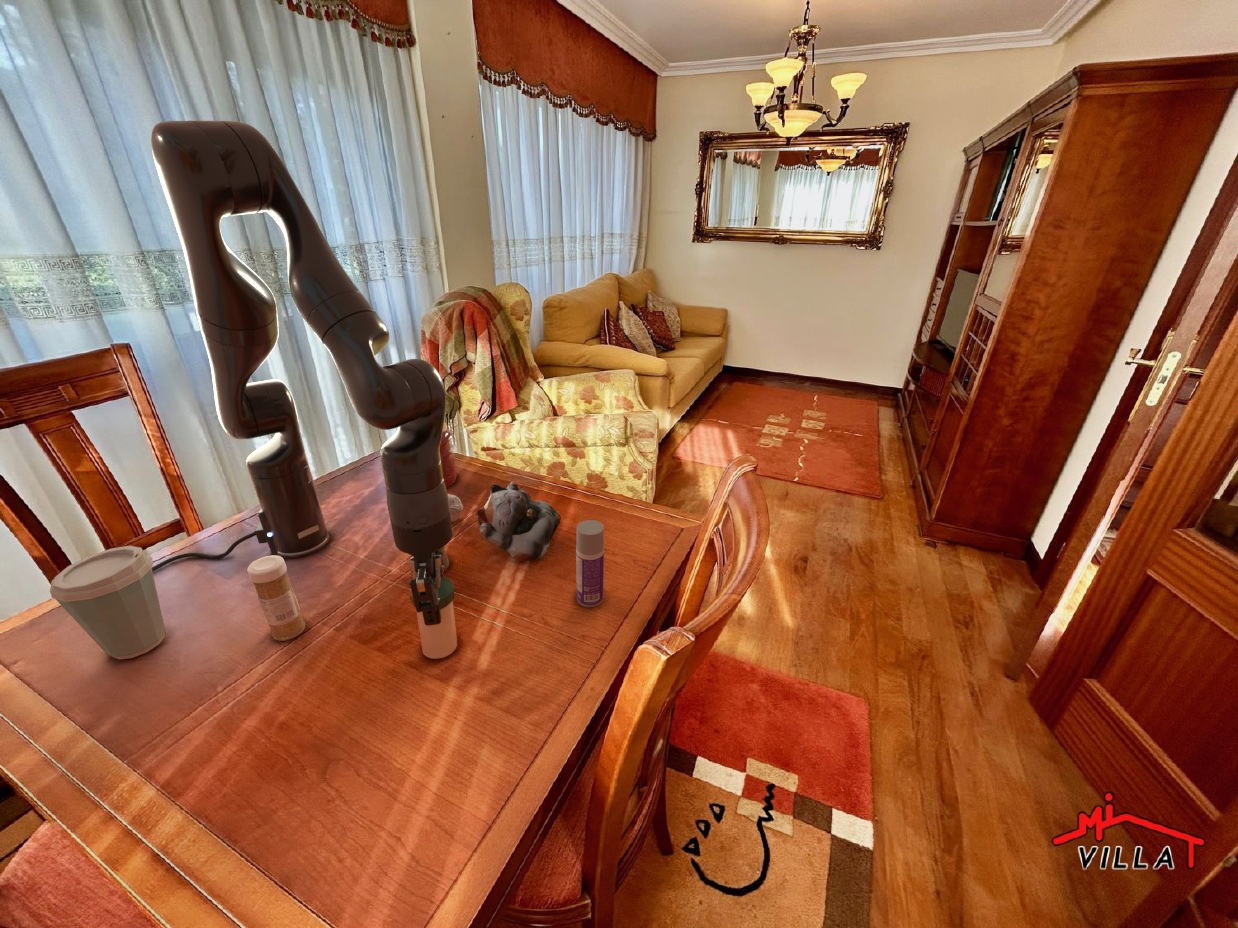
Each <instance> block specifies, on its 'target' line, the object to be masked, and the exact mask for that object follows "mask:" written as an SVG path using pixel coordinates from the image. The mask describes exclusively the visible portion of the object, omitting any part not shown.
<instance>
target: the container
mask: <svg viewBox="0 0 1238 928" xmlns="http://www.w3.org/2000/svg"><path fill="white" fill-rule="evenodd" d="M575 542H576V543H575V544H576V545H575V567H576V568H575V570H576V571H575V573H576V574H575V575H576V577H575V578H576V579H575V581H576V602H577V603H578V604H579V605H580V606H582V607H583V608H584V607H585V608H595V607H598V606H599V605H601V604H602V602H603V600H604V575H605V526H604V524H603V523H602V522H601V521H599V520H594V519H587V520H582V521H580V522H578V523H577V524H576V540H575Z"/></svg>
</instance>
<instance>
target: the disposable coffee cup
mask: <svg viewBox="0 0 1238 928" xmlns="http://www.w3.org/2000/svg"><path fill="white" fill-rule="evenodd" d="M152 567H154V560H153V557H152V556H151V555H150V553H149V552H146V551H144V550H143V547H140V546H134V545H124V546H119V547H112V548H109V549H105V550H103V551H100V552H97V553H94V554H90V555H88V556H86V557H84V558H82V559H79V560H78V561H75V562H74V563H71V564H69V565H68V566H66V568H64V569H62V571H61V572H59V573H57V574H56V576H54V578H53V579H52V580H51V582H50V589H49V594H50V595H51V598H52V599H55V600H56V601H57V602H58V603H59V605H60V606H61V607H63V609H64V610H65V611H66V613H68V614H69V615H70V616H71V617H72V619H74V621H75V622H76V623H77V624H78V625H79V627H81V628H82V629H83V630H84V631H85V633H86V634H87V635H89V637H90V638H91V639H92V640H93V641H94V642H95V644H97V645H98V646H99V647H100V649H102V651H103V652H104V653H105V654H106V655H108V656H110V657H112V658H114V659H116V660H126V659H127V660H128V659H133V658H137V657H138V656H141V655H144V654H146V653H149V652H150V651H152V650H153V649H154V648H156V647H157V646H159V645H160V643H161V642H163V640H164V639H165V638H166V637H165V634H166V626H165V621H164V617H163V612H162V607H161V604H160V598H159V596H158V589H157V586H156V581H155V577H154V571H153V572H152Z"/></svg>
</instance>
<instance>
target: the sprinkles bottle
mask: <svg viewBox="0 0 1238 928" xmlns="http://www.w3.org/2000/svg"><path fill="white" fill-rule="evenodd" d="M287 569H288V568H287V565H286V562H285V560H284V557H280V556H276V555H272V554H271V555H265V556H262V557H260V558H257V559H255V560H254V561H252V562H251V563H249V565H248V566H247V574H248V577H249V580H250V581H251V582H252V584H253V586H254V589H255V591H256V594H257V597H258V601H259V603H260V605H261V608H262V611H263V614H264V616H265V619H266V621H267V623H268V625H269V628H270V631H271V635H272V638H273V639H274V640H275V641H280V642H286V641H289V640H291V639H295V638H296V637H298V636H299V635H301V634H302V633H303V631H304V630H305V628H306V622H305V620H304V619H303V616H302V612H301V608H300V605H299V602H298V599H297V596H296V594H295V592H294V589H293V586H292V583H291V581H290V578H289V576H288V575H289V574H288V571H287Z"/></svg>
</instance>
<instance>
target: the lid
mask: <svg viewBox="0 0 1238 928" xmlns="http://www.w3.org/2000/svg"><path fill="white" fill-rule="evenodd" d="M443 576H444V575H443ZM443 576H441V586H440V587H439V588H438V598H439V607H440V609H442V608H444V607H446V606H448V605H449V604H450V603H451V602H452V601H453V602H454V600H455V596H456V593H455V592H456V589H455V588H456V587H455V585H454V582H453V580H451V579H450V578H448V577H447V576H444V577H443ZM432 580H433V582H435V581H436V578H433V579H432ZM410 601H411V604H412V606H413V607H414V609H416V607H415V603H414V599H413V594H412V590H411V589H410Z"/></svg>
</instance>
